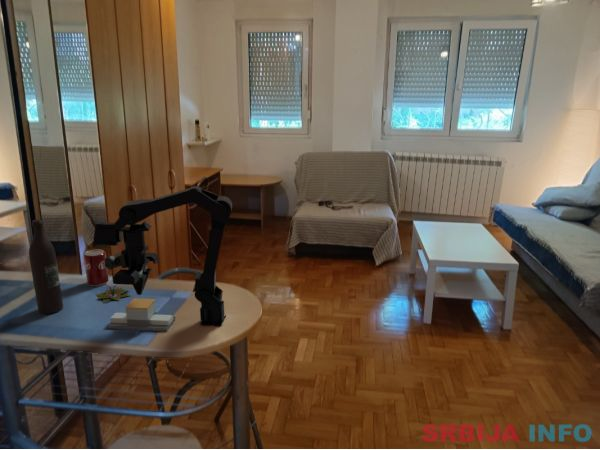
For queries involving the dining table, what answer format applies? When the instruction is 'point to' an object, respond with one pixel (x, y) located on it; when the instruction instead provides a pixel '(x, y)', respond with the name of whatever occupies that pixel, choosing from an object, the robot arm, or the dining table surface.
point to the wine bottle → (44, 271)
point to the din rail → (155, 325)
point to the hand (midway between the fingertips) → (139, 294)
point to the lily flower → (111, 292)
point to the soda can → (95, 267)
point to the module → (140, 311)
